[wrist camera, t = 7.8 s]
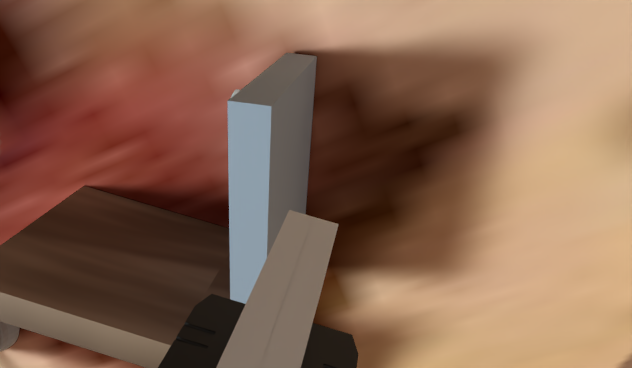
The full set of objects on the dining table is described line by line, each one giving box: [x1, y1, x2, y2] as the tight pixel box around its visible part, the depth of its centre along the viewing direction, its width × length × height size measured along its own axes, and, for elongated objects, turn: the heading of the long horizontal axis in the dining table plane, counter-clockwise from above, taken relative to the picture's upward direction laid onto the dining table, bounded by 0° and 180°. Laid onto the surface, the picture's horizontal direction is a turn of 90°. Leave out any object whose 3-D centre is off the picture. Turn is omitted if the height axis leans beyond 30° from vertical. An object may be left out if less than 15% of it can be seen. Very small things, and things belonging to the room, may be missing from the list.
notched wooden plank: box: [0, 186, 230, 368], centre depth 26 cm, size 2×15×11 cm, turn 77°
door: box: [228, 53, 317, 304], centre depth 23 cm, size 3×12×9 cm, turn 176°
